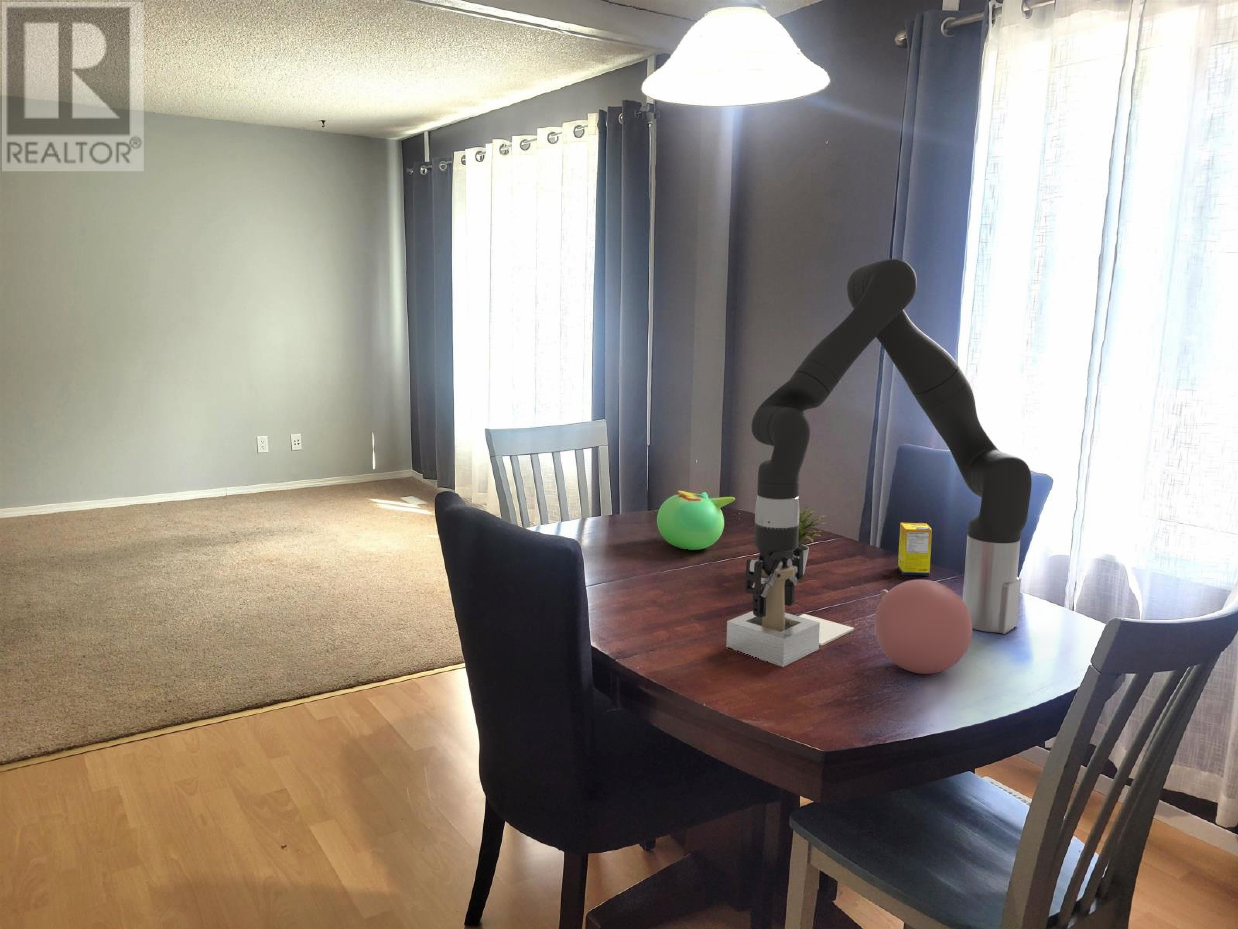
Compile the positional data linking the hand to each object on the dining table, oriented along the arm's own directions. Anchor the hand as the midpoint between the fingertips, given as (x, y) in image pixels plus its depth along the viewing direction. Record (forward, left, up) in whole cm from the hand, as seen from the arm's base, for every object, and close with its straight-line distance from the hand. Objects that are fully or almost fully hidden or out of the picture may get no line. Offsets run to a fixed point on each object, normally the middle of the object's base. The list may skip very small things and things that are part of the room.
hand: (773, 610), depth 157 cm
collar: (0, 0, -7) cm, 7 cm away
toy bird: (+53, -41, -7) cm, 67 cm away
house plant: (+22, -39, -7) cm, 45 cm away
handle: (0, 0, -7) cm, 7 cm away
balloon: (-21, -11, -7) cm, 25 cm away
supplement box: (+4, -61, -7) cm, 62 cm away
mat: (0, -13, -7) cm, 15 cm away
